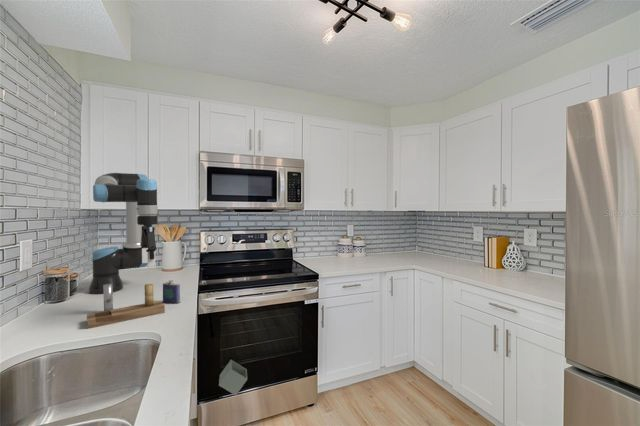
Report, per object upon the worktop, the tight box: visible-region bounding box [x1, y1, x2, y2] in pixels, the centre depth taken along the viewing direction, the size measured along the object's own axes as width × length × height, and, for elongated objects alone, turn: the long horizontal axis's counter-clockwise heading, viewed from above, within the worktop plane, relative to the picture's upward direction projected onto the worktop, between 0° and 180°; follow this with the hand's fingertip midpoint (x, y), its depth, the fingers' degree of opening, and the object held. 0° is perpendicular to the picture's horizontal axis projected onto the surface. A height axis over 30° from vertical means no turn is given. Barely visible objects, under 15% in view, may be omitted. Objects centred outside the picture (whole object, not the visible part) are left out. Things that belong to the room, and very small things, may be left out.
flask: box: [162, 279, 181, 305], centre depth 140 cm, size 9×3×11 cm, turn 74°
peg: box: [103, 284, 114, 311], centre depth 128 cm, size 3×3×12 cm
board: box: [86, 283, 166, 329], centre depth 122 cm, size 9×26×12 cm, turn 130°
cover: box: [218, 359, 248, 396], centre depth 133 cm, size 9×9×8 cm
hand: (148, 264), depth 127 cm, fingers open, 13 cm apart
